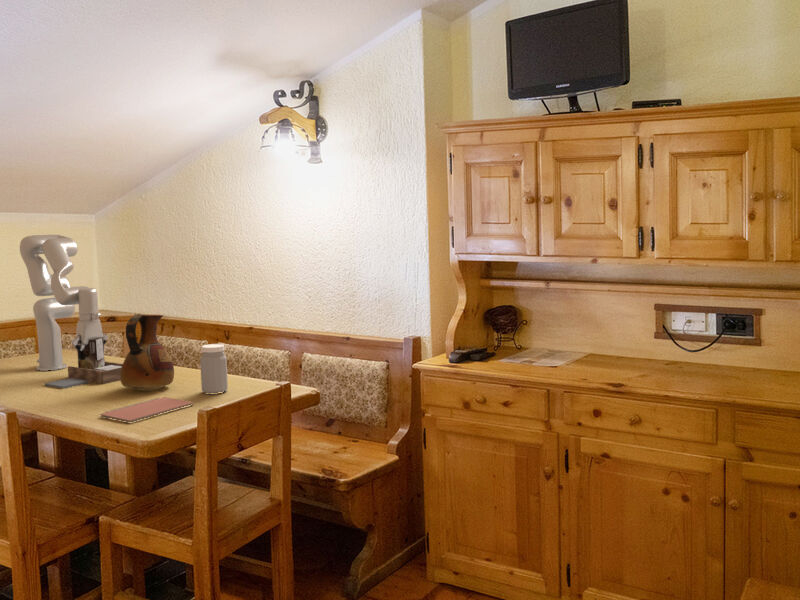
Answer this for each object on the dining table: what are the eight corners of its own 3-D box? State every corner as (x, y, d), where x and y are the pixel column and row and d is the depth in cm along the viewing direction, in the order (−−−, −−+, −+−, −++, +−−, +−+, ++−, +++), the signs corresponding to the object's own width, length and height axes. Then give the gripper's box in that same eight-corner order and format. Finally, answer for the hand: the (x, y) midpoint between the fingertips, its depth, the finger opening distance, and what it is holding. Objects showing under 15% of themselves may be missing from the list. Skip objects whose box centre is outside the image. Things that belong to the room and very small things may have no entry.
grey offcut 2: (102, 381, 311) (101, 369, 310) (118, 377, 318) (117, 365, 317) (108, 382, 309) (108, 370, 308) (124, 378, 316) (123, 366, 315)
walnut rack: (68, 378, 317) (67, 366, 316) (99, 371, 330) (98, 360, 329) (103, 384, 305) (102, 371, 304) (134, 376, 318) (133, 365, 317)
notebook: (162, 401, 277) (162, 395, 277) (194, 406, 268) (194, 401, 268) (98, 418, 254) (97, 412, 254) (130, 425, 245) (129, 419, 245)
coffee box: (106, 374, 323) (104, 337, 321) (98, 377, 317) (96, 339, 315) (86, 373, 324) (83, 336, 322) (78, 376, 318) (75, 339, 316)
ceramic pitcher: (185, 385, 301) (181, 310, 297) (152, 396, 282) (148, 317, 278) (144, 382, 307) (140, 309, 304) (110, 393, 288) (105, 316, 285)
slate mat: (44, 385, 304) (44, 383, 303) (71, 379, 314) (71, 377, 314) (62, 389, 297) (62, 386, 297) (89, 382, 307) (89, 380, 307)
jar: (211, 396, 281) (209, 348, 279) (196, 392, 287) (194, 346, 285) (233, 391, 288) (231, 345, 286) (217, 387, 295) (215, 342, 293)
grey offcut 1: (95, 380, 313) (94, 368, 313) (112, 376, 320) (111, 364, 319) (100, 381, 311) (100, 369, 311) (117, 377, 318) (117, 365, 317)
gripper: (101, 314, 327) (103, 353, 329) (64, 319, 312) (67, 360, 314) (112, 315, 323) (114, 355, 325) (76, 320, 308) (78, 362, 310)
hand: (91, 357), depth 320 cm, fingers closed on coffee box, 8 cm apart
